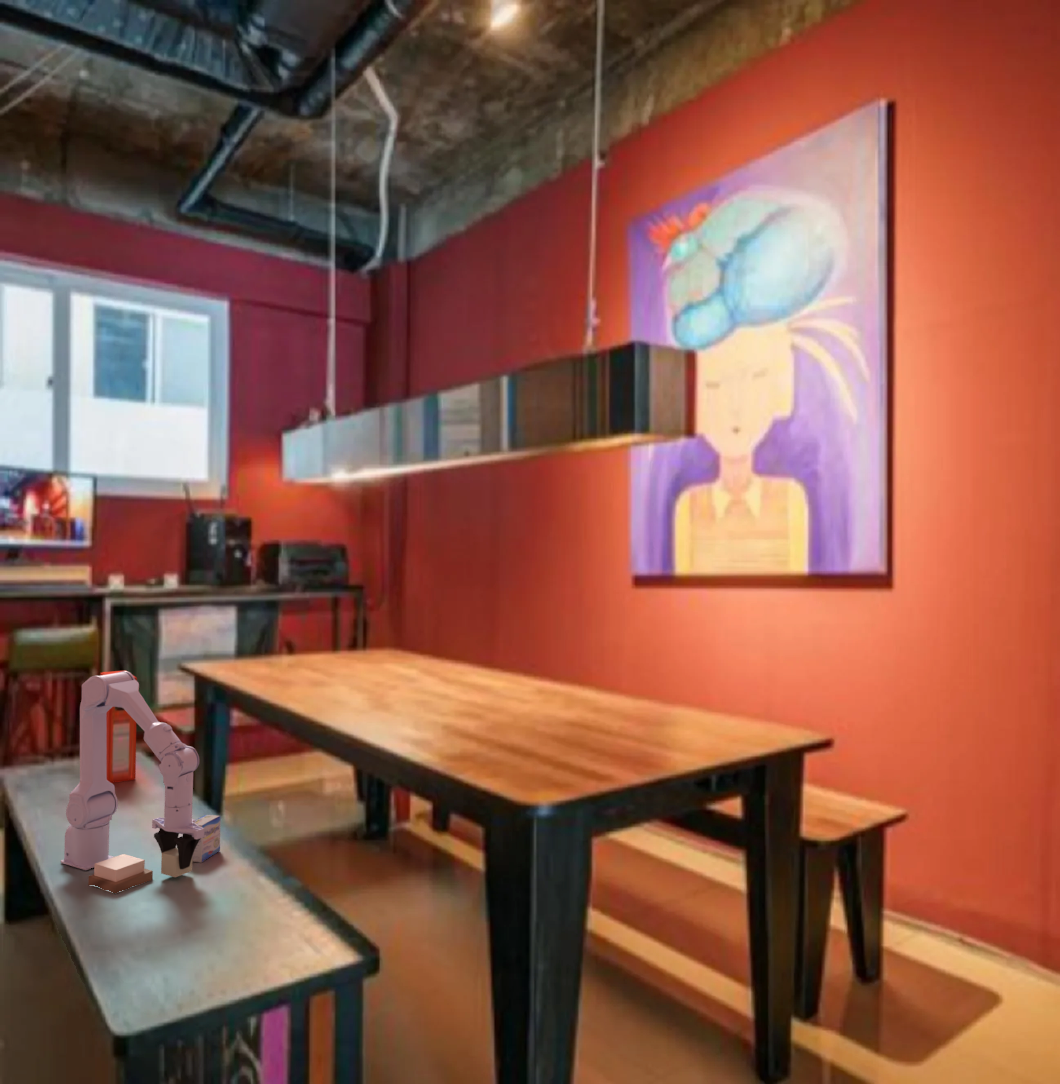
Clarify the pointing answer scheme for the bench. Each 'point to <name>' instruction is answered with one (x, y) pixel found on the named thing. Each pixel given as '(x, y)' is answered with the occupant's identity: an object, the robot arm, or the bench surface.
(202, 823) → the medicine box
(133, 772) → the file binder
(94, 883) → the walnut base slab
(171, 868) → the beige cube
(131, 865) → the cream top slab
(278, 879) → the bench surface
